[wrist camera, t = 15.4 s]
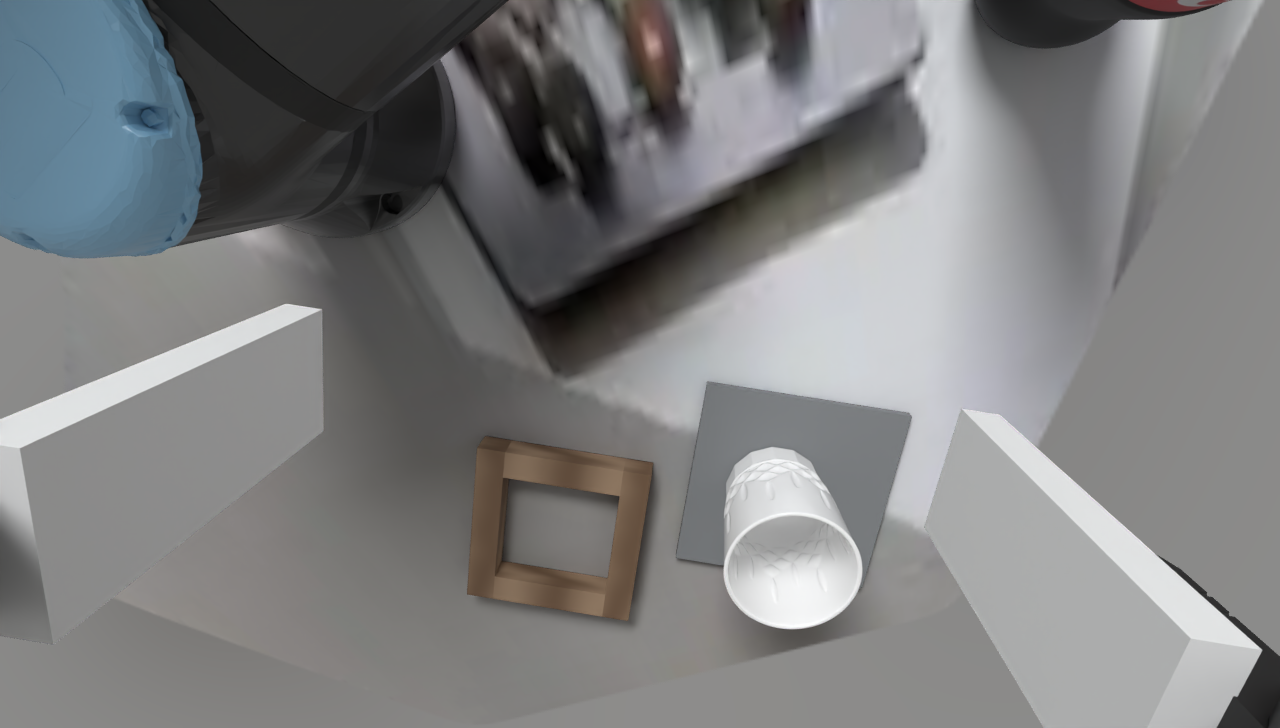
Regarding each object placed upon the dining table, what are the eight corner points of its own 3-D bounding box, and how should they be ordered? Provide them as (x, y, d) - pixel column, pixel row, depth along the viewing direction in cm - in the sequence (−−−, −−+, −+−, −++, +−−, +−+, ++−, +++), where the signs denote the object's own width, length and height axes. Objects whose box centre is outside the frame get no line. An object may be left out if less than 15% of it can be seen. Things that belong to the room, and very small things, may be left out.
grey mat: (676, 553, 52) (675, 557, 51) (707, 381, 47) (707, 384, 47) (860, 583, 51) (861, 588, 51) (909, 413, 47) (911, 416, 46)
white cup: (744, 422, 47) (757, 493, 38) (848, 462, 48) (887, 542, 38) (700, 514, 50) (702, 602, 40) (800, 551, 50) (825, 647, 41)
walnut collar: (475, 578, 54) (467, 594, 52) (485, 436, 50) (476, 447, 48) (630, 603, 53) (628, 620, 51) (653, 462, 49) (651, 475, 47)
